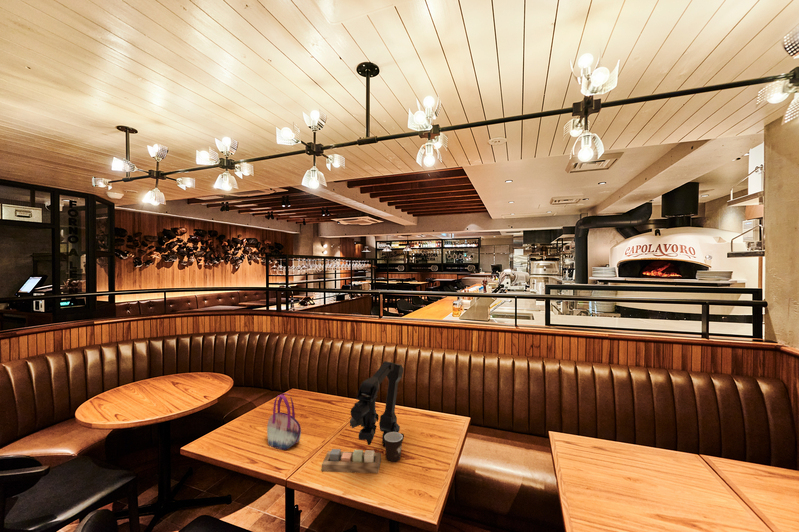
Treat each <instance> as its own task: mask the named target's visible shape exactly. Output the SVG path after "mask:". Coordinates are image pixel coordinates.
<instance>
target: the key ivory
mask: <svg viewBox="0 0 799 532" xmlns="http://www.w3.org/2000/svg"><path fill="white" fill-rule="evenodd" d="M364 452H365V454H364V462H365V463H375V462H374V453H375V450H370V449H369V450H368V449H366V450H365V451H364Z"/></svg>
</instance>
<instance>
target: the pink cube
mask: <svg viewBox="0 0 799 532" xmlns="http://www.w3.org/2000/svg"><path fill="white" fill-rule="evenodd" d="M340 462H352V453H343V455H342V457H341V461H340Z"/></svg>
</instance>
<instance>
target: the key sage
mask: <svg viewBox="0 0 799 532" xmlns="http://www.w3.org/2000/svg"><path fill="white" fill-rule="evenodd" d="M352 452H353V462H362V461H363V452H364V450H363V449H353V451H352Z"/></svg>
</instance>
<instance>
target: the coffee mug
mask: <svg viewBox="0 0 799 532" xmlns="http://www.w3.org/2000/svg"><path fill="white" fill-rule="evenodd" d="M404 435H405V434H404V433H403V432H402V433H400V432H399V433H398V432H389V433H387V434H386V435H385V436H384V440H385V447H384V448H385V455H386V460H387V461H388V462H389V463H397V462H399V461H400V460H401V456H402V455H401V453H402V447H403V446H402V445H403V440H404V437H405V436H404Z"/></svg>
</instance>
